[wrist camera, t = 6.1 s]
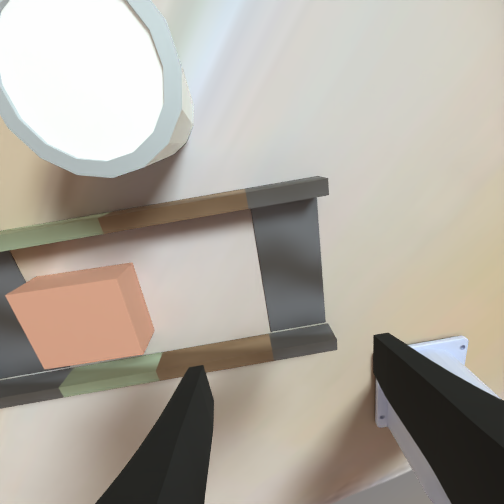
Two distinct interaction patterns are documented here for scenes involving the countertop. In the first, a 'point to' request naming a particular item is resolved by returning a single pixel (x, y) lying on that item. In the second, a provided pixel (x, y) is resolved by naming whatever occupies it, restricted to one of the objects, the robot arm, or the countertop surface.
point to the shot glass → (93, 83)
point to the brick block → (84, 315)
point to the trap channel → (211, 355)
